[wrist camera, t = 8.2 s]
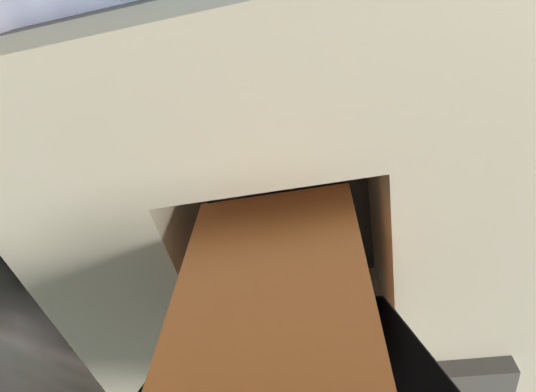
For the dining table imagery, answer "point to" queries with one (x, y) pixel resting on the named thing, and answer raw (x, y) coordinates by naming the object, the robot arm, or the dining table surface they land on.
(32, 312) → the dining table surface
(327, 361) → the plug
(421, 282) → the socket plate
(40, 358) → the dining table surface
